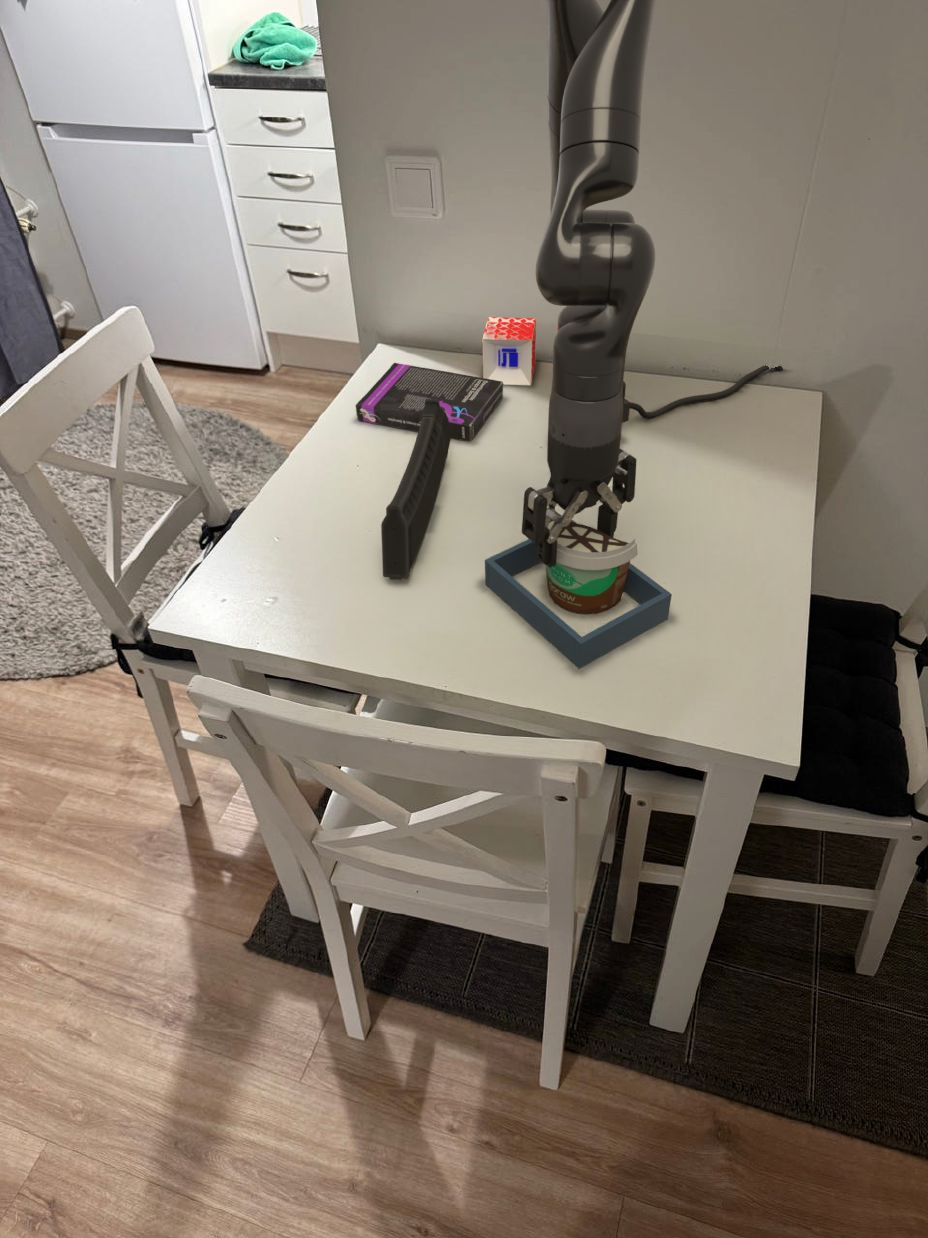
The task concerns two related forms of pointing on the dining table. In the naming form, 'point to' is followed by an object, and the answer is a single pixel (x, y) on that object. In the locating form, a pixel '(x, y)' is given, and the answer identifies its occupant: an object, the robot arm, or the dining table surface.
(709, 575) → the dining table surface
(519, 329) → the white and red cube
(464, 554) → the dining table surface
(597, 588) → the food container
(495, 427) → the dining table surface
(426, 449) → the magazine
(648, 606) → the blue rectangular frame
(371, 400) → the box
